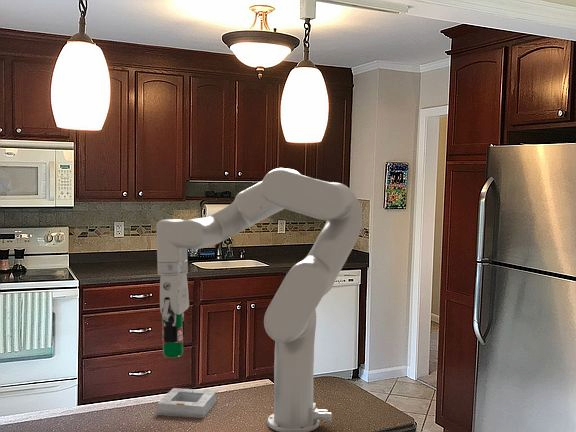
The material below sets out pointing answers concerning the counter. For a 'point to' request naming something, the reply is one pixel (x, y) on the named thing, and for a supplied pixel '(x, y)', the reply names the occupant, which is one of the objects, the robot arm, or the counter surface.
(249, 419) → the counter surface
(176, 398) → the plate
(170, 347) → the soda can
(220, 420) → the counter surface
